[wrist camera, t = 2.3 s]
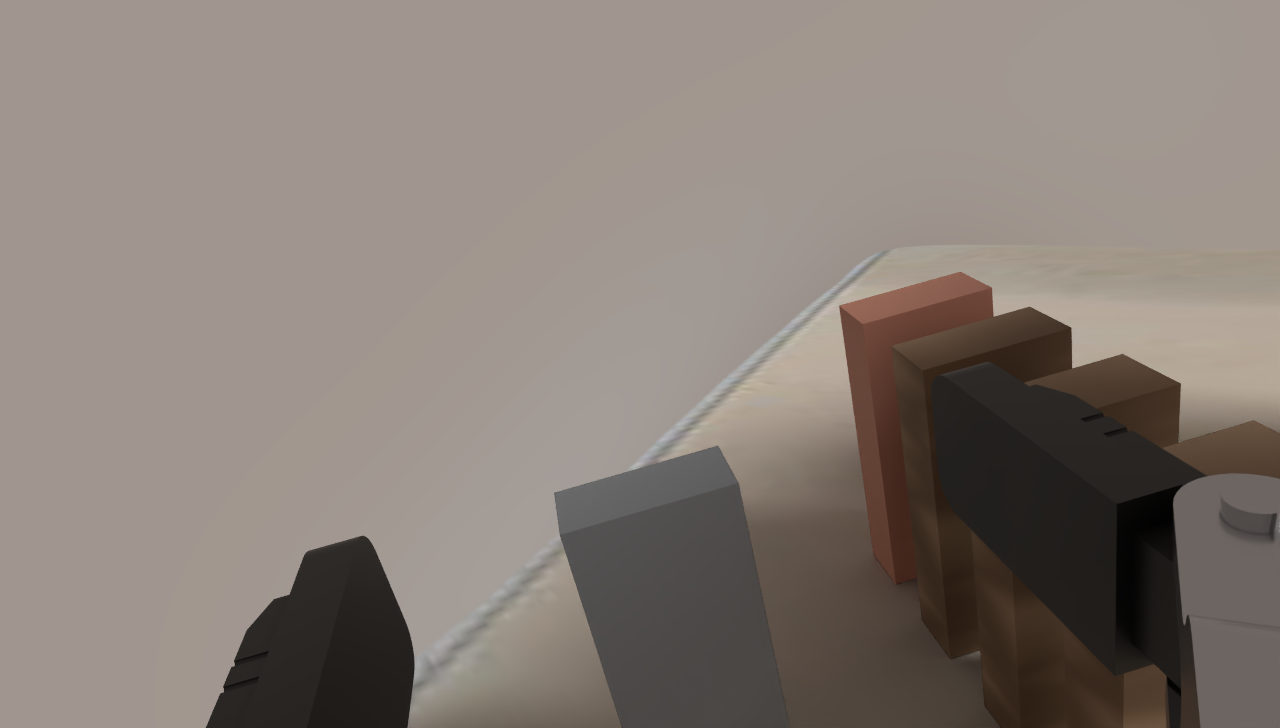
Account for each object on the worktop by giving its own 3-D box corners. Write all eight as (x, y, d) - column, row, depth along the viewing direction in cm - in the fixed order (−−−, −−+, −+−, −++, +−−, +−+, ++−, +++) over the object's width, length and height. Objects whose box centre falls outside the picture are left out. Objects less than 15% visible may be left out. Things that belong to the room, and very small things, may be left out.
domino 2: (922, 620, 32) (891, 345, 28) (1039, 583, 33) (1029, 306, 28) (950, 659, 30) (922, 370, 26) (1075, 619, 31) (1071, 327, 26)
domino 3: (984, 705, 28) (960, 400, 24) (1118, 662, 29) (1122, 354, 24) (1022, 757, 26) (1005, 435, 22) (1166, 710, 27) (1180, 383, 22)
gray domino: (644, 777, 29) (554, 492, 24) (780, 734, 29) (717, 445, 24) (656, 833, 27) (559, 535, 22) (802, 787, 27) (738, 482, 22)
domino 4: (1068, 819, 24) (1060, 478, 19) (1224, 768, 24) (1254, 420, 20) (1121, 891, 22) (1126, 529, 17) (1290, 834, 22) (1340, 464, 18)
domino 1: (873, 554, 37) (839, 305, 32) (978, 522, 37) (960, 271, 32) (895, 584, 35) (862, 324, 30) (1006, 550, 35) (991, 287, 30)
